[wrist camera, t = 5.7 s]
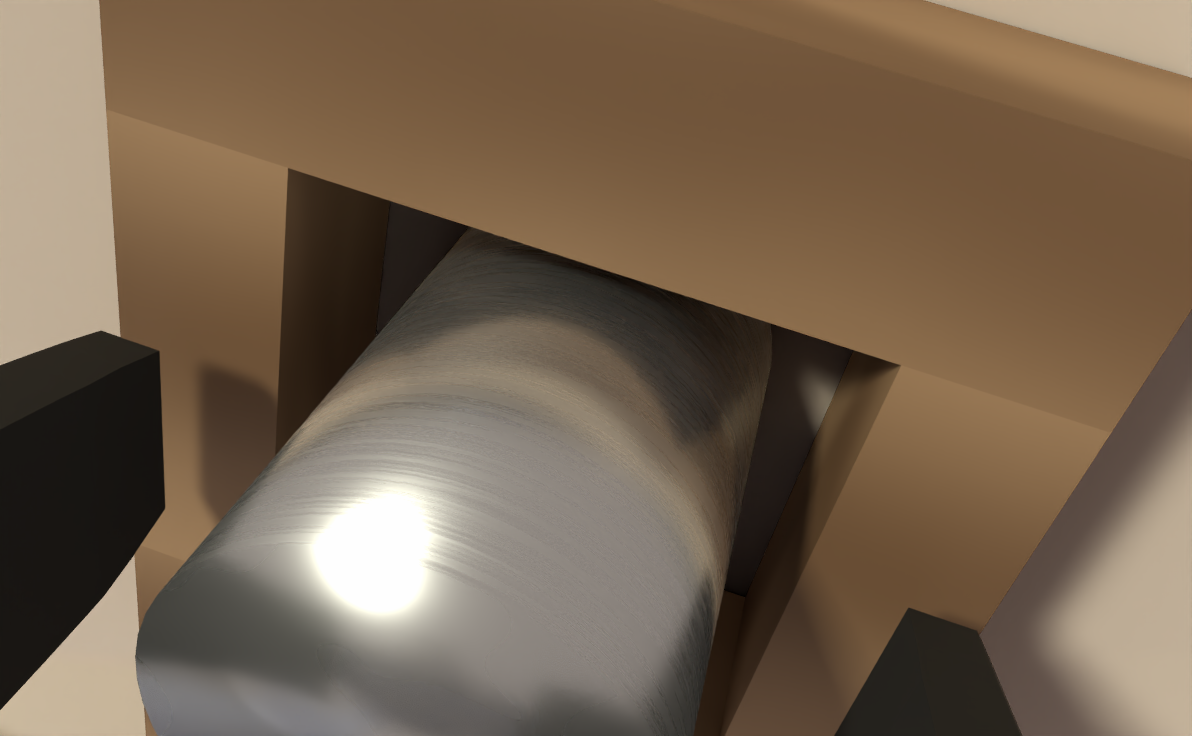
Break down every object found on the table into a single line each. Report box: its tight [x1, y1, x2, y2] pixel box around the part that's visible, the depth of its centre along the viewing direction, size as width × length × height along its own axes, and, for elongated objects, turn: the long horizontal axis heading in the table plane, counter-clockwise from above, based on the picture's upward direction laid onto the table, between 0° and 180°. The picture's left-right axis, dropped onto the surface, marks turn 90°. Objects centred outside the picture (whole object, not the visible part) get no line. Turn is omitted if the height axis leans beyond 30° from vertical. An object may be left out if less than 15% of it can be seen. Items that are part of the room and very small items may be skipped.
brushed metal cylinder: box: [135, 227, 772, 736], centre depth 10 cm, size 4×4×6 cm
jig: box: [99, 0, 1192, 736], centre depth 12 cm, size 13×9×2 cm
